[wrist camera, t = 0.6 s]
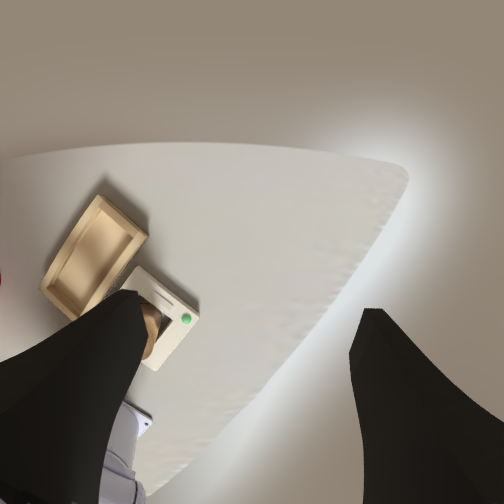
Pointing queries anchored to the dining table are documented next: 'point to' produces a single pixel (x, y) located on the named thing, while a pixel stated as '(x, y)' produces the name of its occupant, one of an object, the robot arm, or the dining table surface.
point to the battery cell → (151, 327)
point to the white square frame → (170, 306)
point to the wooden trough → (91, 258)
